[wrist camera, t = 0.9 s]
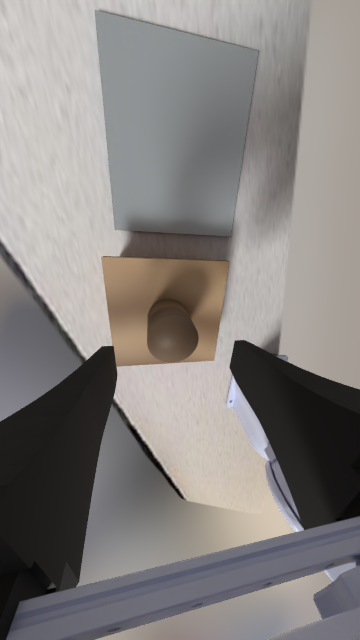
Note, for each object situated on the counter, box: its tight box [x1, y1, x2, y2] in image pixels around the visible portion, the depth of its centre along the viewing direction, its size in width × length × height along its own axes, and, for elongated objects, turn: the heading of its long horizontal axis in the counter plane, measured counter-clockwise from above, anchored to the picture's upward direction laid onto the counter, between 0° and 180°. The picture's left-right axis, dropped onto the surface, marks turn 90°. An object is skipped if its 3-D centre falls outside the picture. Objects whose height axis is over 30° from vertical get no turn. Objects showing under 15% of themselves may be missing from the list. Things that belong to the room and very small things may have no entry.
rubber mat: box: [95, 10, 259, 237], centre depth 14 cm, size 12×11×1 cm
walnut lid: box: [101, 256, 229, 366], centre depth 14 cm, size 10×10×5 cm
